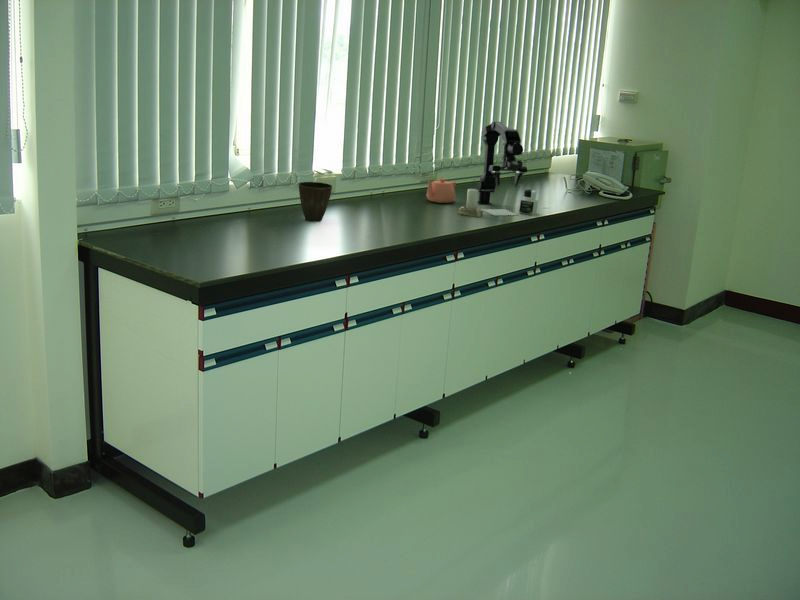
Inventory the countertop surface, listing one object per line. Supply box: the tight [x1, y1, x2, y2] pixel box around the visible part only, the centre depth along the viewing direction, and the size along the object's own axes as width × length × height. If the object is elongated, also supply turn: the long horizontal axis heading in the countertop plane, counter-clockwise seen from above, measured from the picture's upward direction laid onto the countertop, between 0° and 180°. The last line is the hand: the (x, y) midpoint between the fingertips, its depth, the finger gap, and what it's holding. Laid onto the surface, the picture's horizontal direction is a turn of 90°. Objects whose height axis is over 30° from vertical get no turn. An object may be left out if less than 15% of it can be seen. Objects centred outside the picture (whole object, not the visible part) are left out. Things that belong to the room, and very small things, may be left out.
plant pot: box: [298, 181, 333, 222], centre depth 380 cm, size 15×15×16 cm
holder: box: [457, 206, 484, 217], centre depth 423 cm, size 8×11×2 cm
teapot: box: [426, 177, 457, 204], centre depth 449 cm, size 22×15×12 cm
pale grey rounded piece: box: [465, 188, 480, 211], centre depth 422 cm, size 8×5×12 cm
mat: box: [482, 208, 519, 217], centre depth 432 cm, size 14×14×1 cm
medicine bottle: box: [518, 189, 539, 216], centre depth 436 cm, size 7×7×12 cm
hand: (507, 186), depth 426 cm, fingers open, 9 cm apart
